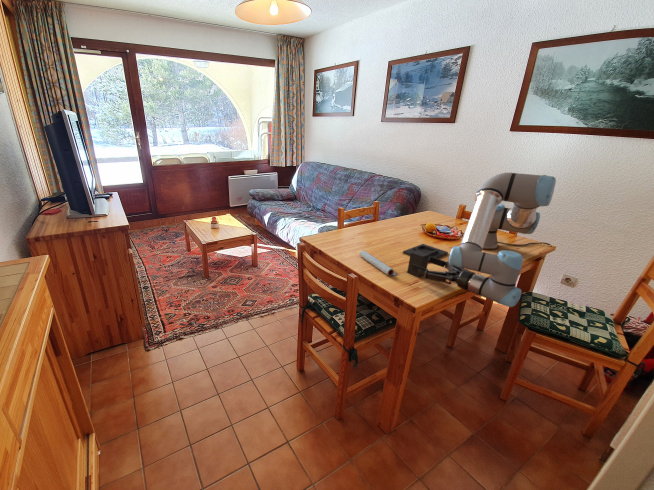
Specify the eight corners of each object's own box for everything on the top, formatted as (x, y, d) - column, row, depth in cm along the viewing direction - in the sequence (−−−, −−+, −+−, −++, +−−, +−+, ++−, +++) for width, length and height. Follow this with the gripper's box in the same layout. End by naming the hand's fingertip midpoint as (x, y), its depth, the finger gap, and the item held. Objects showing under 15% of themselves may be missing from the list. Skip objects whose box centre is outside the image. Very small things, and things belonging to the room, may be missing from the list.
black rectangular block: (413, 269, 144) (417, 249, 140) (425, 274, 139) (429, 254, 135) (407, 272, 141) (410, 252, 137) (419, 277, 136) (423, 256, 133)
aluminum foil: (359, 256, 157) (359, 250, 155) (370, 255, 159) (371, 249, 157) (387, 276, 137) (388, 269, 136) (399, 274, 139) (400, 267, 138)
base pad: (422, 245, 171) (423, 241, 170) (447, 254, 160) (448, 249, 159) (402, 253, 161) (403, 248, 160) (427, 262, 151) (428, 257, 150)
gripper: (453, 300, 115) (403, 278, 131) (484, 281, 129) (435, 263, 145) (457, 282, 112) (406, 262, 128) (489, 265, 126) (438, 248, 142)
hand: (421, 262), depth 137 cm, fingers open, 13 cm apart
